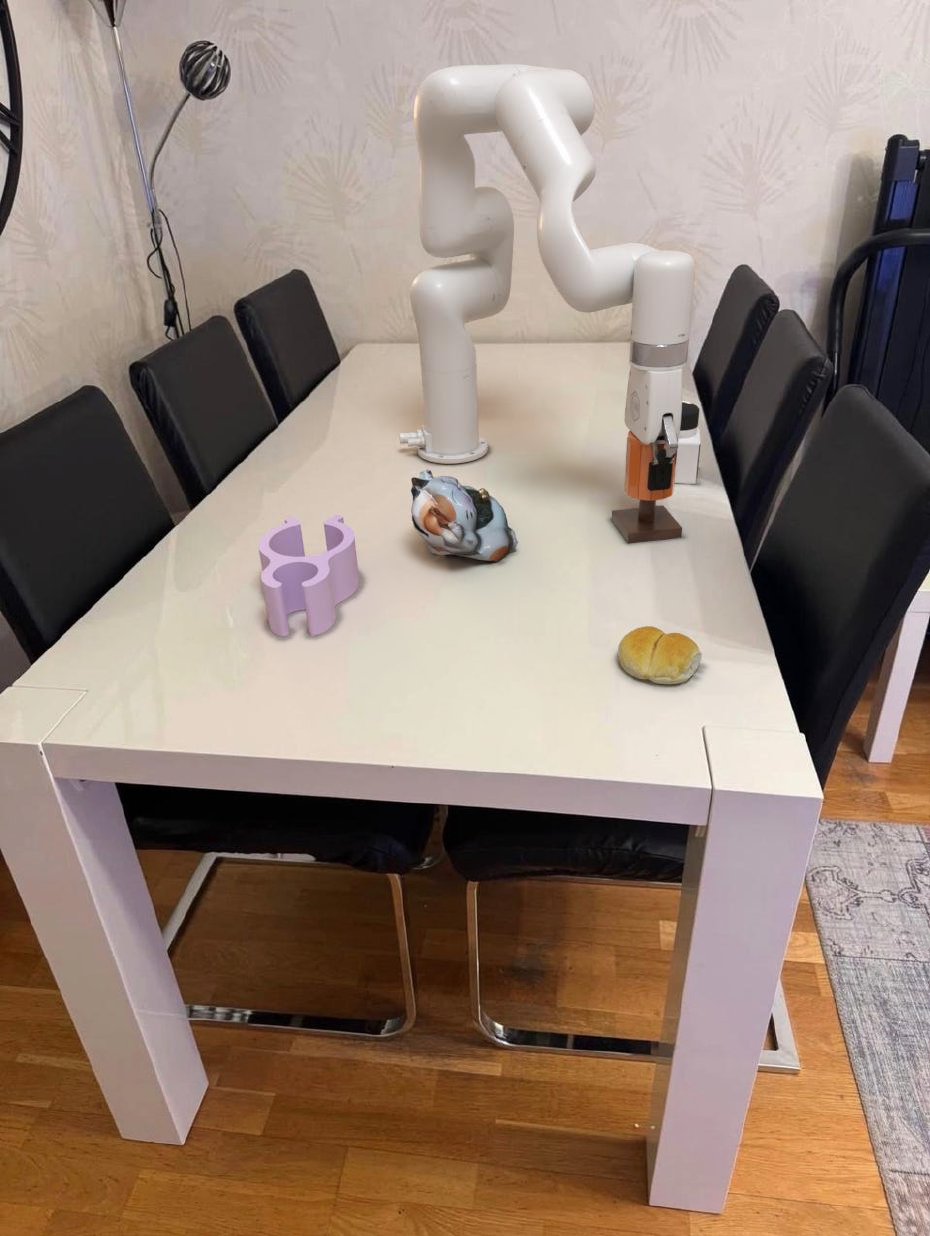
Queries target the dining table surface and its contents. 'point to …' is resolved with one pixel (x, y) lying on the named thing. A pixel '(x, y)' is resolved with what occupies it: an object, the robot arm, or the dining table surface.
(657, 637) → the bread roll
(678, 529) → the stand
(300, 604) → the clip
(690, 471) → the medicine bottle
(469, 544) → the lucky cat figurine
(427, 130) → the robot arm
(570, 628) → the dining table surface
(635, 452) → the cup
